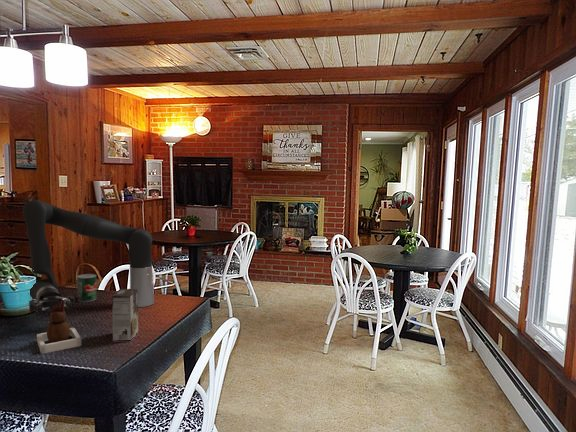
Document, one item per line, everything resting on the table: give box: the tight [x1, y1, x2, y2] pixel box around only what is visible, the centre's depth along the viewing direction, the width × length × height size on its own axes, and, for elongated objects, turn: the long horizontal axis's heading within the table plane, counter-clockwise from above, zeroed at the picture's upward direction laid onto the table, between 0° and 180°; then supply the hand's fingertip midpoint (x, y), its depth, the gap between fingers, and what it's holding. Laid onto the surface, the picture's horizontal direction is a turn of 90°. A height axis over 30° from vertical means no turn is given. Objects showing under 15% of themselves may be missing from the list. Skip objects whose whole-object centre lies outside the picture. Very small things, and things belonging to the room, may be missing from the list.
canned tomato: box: [76, 273, 97, 303], centre depth 185 cm, size 8×8×11 cm
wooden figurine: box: [46, 300, 71, 343], centre depth 136 cm, size 7×6×15 cm
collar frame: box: [36, 327, 82, 355], centre depth 136 cm, size 11×12×2 cm
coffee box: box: [111, 288, 139, 342], centre depth 143 cm, size 9×6×16 cm
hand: (55, 308), depth 141 cm, fingers open, 8 cm apart
